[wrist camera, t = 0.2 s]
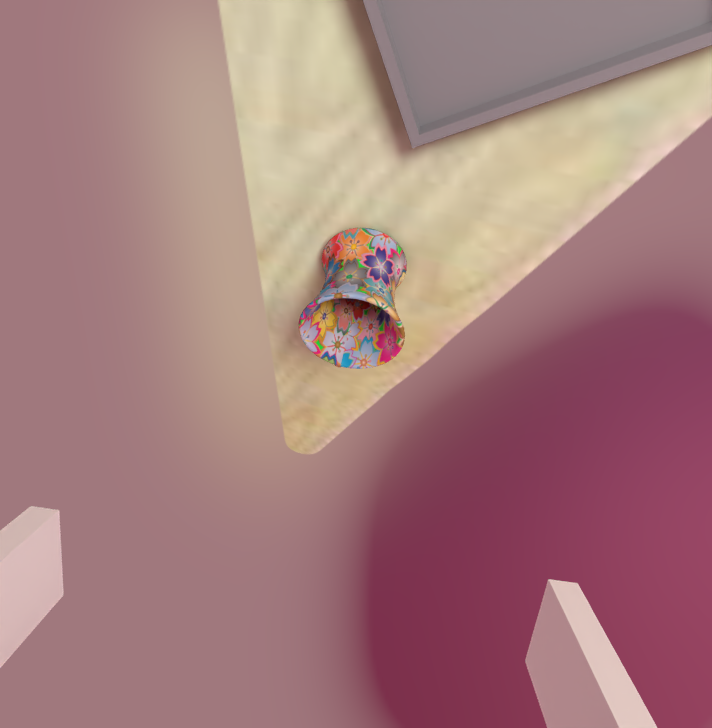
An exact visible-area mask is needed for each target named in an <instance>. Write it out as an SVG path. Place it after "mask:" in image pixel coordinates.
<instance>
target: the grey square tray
mask: <svg viewBox="0 0 712 728" xmlns="http://www.w3.org/2000/svg"><path fill="white" fill-rule="evenodd" d="M363 3H364V6H365V8H366V11H367V14H368V17H369V20H370V23H371V26H372V29H373V32H374V35H375V38H376V41H377V44H378V47H379V50H380V53H381V56H382V59H383V62H384V65H385V68H386V71H387V74H388V77H389V80H390V83H391V86H392V89H393V92H394V95H395V98H396V101H397V104H398V107H399V110H400V113H401V116H402V119H403V122H404V125H405V128H406V131H407V134H408V137H409V140H410V143H411V146H412V148H415V147H417V146H420V145H423V144H426V143H429V142H432V141H435V140H438V139H441V138H444V137H446V136H449V135H452V134H455V133H458V132H461V131H464V130H467V129H470V128H473V127H475V126H478V125H481V124H484V123H487V122H490V121H493V120H496V119H499V118H502V117H504V116H507V115H510V114H513V113H516V112H519V111H522V110H525V109H528V108H531V107H533V106H536V105H539V104H542V103H545V102H548V101H551V100H554V99H557V98H560V97H562V96H565V95H568V94H571V93H574V92H577V91H580V90H583V89H586V88H588V87H591V86H594V85H597V84H600V83H603V82H606V81H609V80H612V79H615V78H617V77H620V76H623V75H626V74H629V73H632V72H635V71H638V70H641V69H644V68H646V67H649V66H652V65H655V64H658V63H661V62H664V61H667V60H670V59H673V58H675V57H678V56H681V55H684V54H687V53H690V52H693V51H696V50H699V49H702V48H704V47H707V46H710V45H712V0H363Z"/></svg>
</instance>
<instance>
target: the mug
mask: <svg viewBox="0 0 712 728" xmlns="http://www.w3.org/2000/svg"><path fill="white" fill-rule="evenodd" d="M322 265H323V269H324V272H325V274H326V278H325V283H324V286H323V288H322V290H321V292H320V294H319V295H318V296H317V297H316V299H315V300H314V301H312V302H311V303H310V304H309V305H308V306H307V307H306V308H305V309H304V311H303V312H302V314H301V316H300V320H299V332H300V336H301V338H302V340H303V342H304V343H305V345H306V346H307V347H308V348H309V349H310V350H311V351H312V352H313V353H314V354H315V355H317V356H318V357H320V358H321V359H323V360H325V361H327V362H329V363H332V364H334V365H335V366H337V367H346V368H356V369H362V368H371V367H376V366H379V365H382V364H384V363H386V362H388V361H390V360H391V359H393V358H394V357H395V356H396V355H397V354H398V353H399V352H400V350H401V348H402V346H403V344H404V339H405V332H404V327H403V324H402V322H401V320H400V318H399V317H398V314H397V312H396V309H395V303H394V295H395V290H396V288H397V287H398V286H399V285H400V284H401V282H402V281H403V279H404V277H405V274H406V270H407V262H406V258H405V255H404V252H403V250H402V249H401V247H400V246H399V245H398V243H397V242H396V241H395V240H393V239H392V238H391V237H389V236H388V235H386V234H384V233H382V232H380V231H377V230H373V229H368V228H353V229H349V230H345V231H343V232H341V233H339V234H337V235H335V236H334V237H333V238H332V239H331V240H330V241H329V242H328V243H327V245H326V247H325V249H324V251H323V255H322Z"/></svg>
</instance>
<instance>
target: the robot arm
mask: <svg viewBox="0 0 712 728" xmlns="http://www.w3.org/2000/svg"><path fill="white" fill-rule="evenodd" d="M61 557H62V556H61V537H60V519H59V510H54V509H47V508H40V507H33V506H31V507H29V508H28V509H27V510H26V511H24V512H23V513H22V514H21V515H19V516H18V517H17V518H16V519H14V520H13V521H12V522H11V523H10V524H8V525H7V526H6V527H4V528H3V529H2V530H0V668H1V666H2V665H3V664H4V663H5V662H6V661H7V660H8V658H9V657H10V656H11V655H12V654H13V653H14V651H15V650H16V649H17V648H18V647H19V646H20V644H21V643H22V642H23V641H24V640H25V639H26V638H27V636H28V635H29V634H30V633H31V632H32V631H33V629H34V628H35V627H36V626H37V625H38V624H39V622H40V621H41V620H42V619H43V618H44V617H45V616H46V614H47V613H48V612H49V611H50V609H52V608H53V606H54V605H55V604H56V603H57V602H58V601H59V599H60V598H61V597H62V596H63V576H62V558H61ZM525 662H526V665H527V668H528V671H529V674H530V677H531V680H532V683H533V685H534V689H535V692H536V695H537V698H538V701H539V704H540V707H541V710H542V713H543V716H544V719H545V722H546V725H547V728H657V726H656V725H655V723H654V721H653V719H652V717H651V715H650V714H649V712H648V710H647V708H646V707H645V705H644V703H643V701H642V699H641V698H640V696H639V694H638V692H637V690H636V688H635V687H634V685H633V683H632V681H631V679H630V678H629V676H628V674H627V672H626V670H625V668H624V667H623V665H622V663H621V661H620V659H619V658H618V656H617V654H616V652H615V650H614V649H613V647H612V645H611V643H610V641H609V639H608V638H607V636H606V634H605V633H604V630H603V629H602V627H601V625H600V623H599V621H598V620H597V618H596V616H595V614H594V612H593V611H592V609H591V607H590V605H589V603H588V601H587V600H586V598H585V596H584V594H583V593H582V591H581V589H580V587H579V585H578V584H577V583H571V582H564V581H558V580H550V579H548V583H547V587H546V590H545V593H544V597H543V600H542V604H541V607H540V611H539V615H538V618H537V622H536V625H535V628H534V632H533V636H532V639H531V642H530V646H529V649H528V653H527V656H526V660H525Z"/></svg>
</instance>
